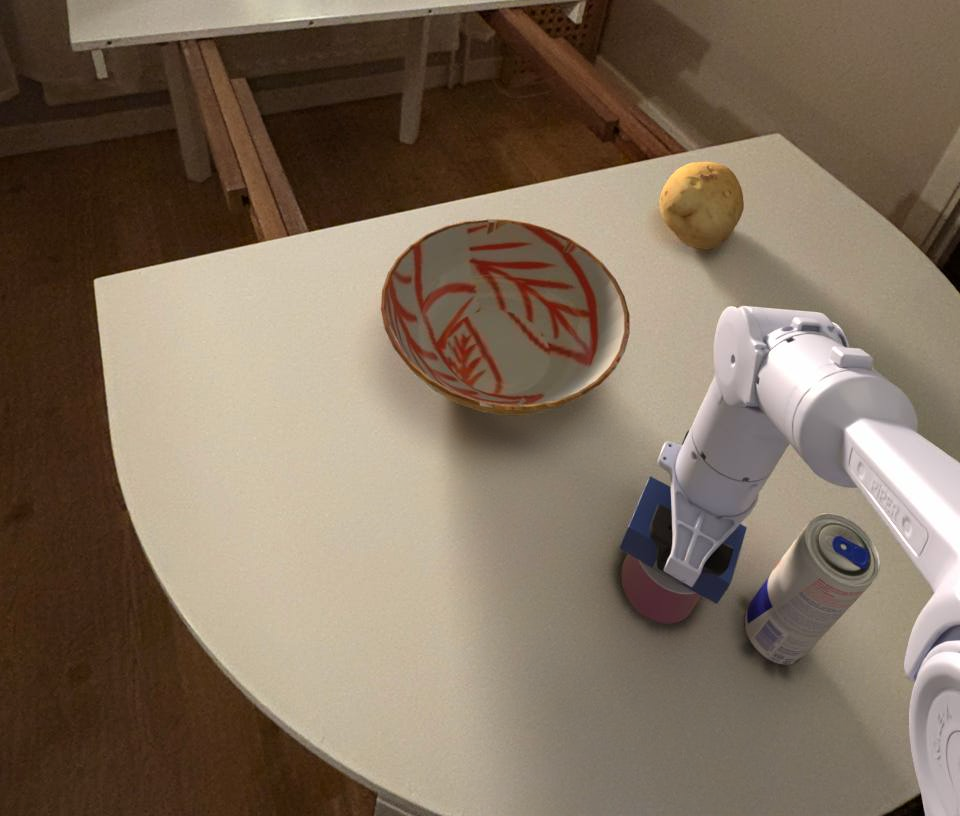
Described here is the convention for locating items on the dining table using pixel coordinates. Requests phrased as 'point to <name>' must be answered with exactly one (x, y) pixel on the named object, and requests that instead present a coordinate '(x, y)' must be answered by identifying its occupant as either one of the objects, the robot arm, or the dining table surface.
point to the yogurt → (656, 592)
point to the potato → (702, 204)
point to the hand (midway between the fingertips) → (682, 538)
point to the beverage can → (811, 588)
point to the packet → (646, 550)
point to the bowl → (505, 316)
